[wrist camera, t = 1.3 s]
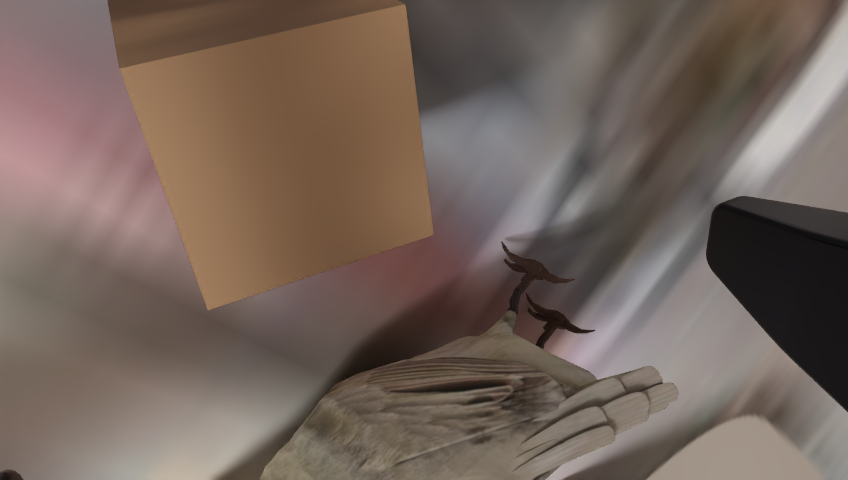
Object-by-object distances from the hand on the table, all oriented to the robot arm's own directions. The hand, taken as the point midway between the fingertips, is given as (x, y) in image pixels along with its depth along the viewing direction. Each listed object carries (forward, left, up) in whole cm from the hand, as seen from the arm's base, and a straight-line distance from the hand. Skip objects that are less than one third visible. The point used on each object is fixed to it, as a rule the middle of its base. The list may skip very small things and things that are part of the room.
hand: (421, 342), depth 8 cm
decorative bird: (+1, -12, -12) cm, 17 cm away
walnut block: (0, 0, -12) cm, 12 cm away
